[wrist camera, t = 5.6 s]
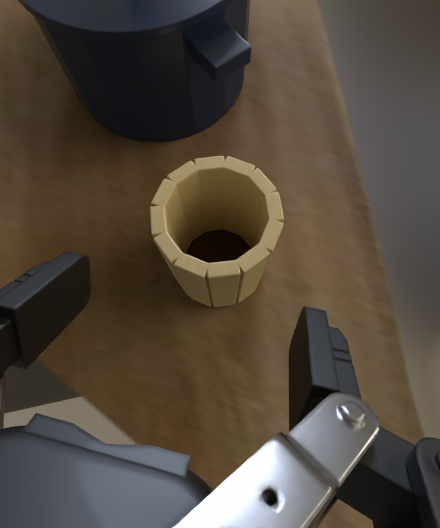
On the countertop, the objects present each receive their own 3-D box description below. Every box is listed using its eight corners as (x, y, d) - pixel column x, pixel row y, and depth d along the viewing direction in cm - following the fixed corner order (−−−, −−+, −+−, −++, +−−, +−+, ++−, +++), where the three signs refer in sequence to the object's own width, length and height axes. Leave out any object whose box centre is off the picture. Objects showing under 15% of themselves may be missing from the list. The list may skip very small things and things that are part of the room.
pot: (155, 199, 23) (119, 112, 15) (34, 41, 28) (-44, -91, 20) (300, 105, 26) (335, -15, 18) (165, -27, 30) (143, -171, 22)
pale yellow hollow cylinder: (209, 325, 21) (201, 305, 14) (157, 254, 22) (124, 201, 15) (282, 270, 22) (310, 224, 15) (227, 205, 23) (228, 134, 16)
